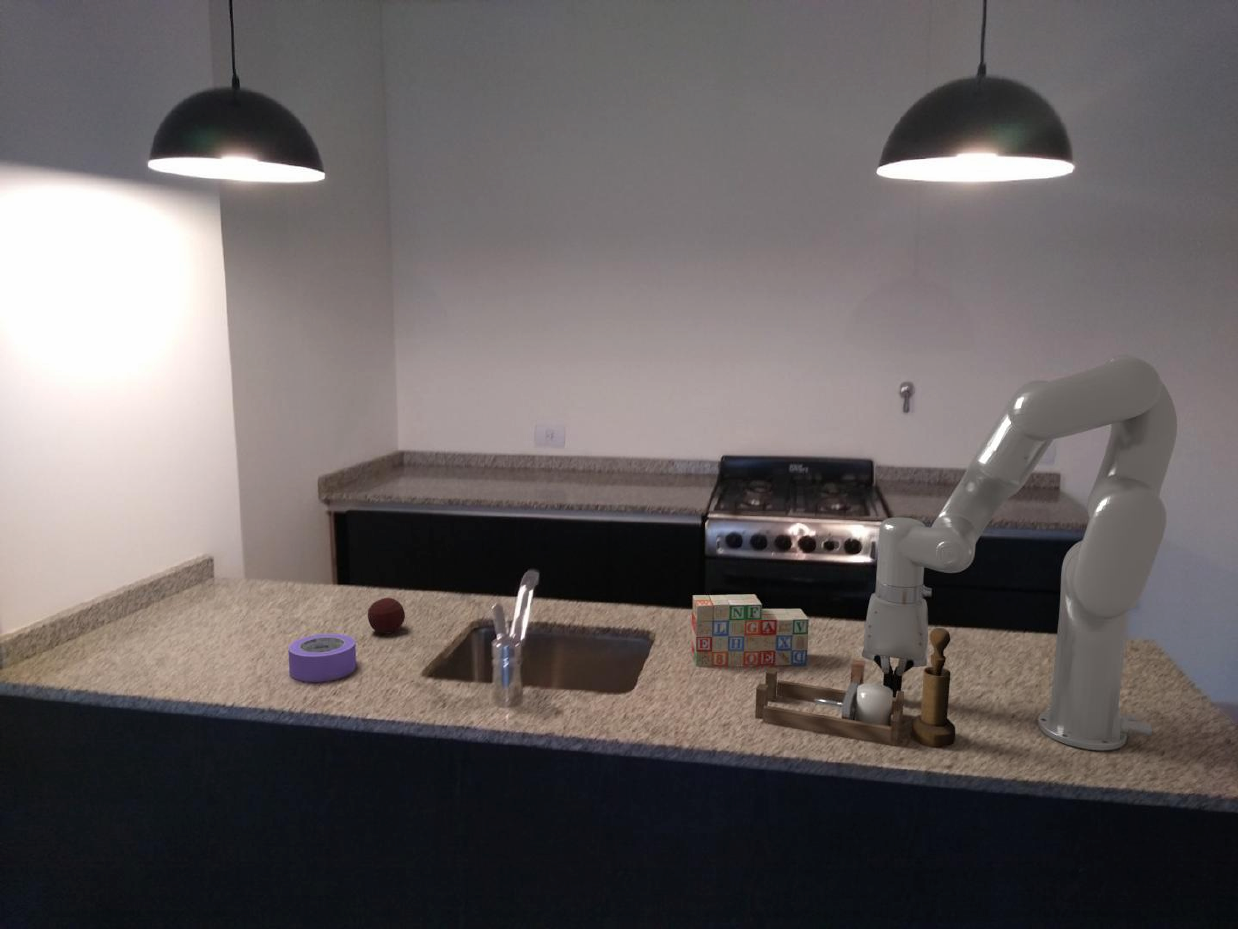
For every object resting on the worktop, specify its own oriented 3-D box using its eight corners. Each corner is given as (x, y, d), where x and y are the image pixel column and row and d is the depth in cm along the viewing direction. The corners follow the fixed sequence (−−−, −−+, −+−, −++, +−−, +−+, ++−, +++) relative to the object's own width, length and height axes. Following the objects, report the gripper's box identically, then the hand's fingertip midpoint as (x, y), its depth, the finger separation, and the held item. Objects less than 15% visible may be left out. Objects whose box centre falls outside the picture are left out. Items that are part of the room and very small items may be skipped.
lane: (902, 714, 150) (904, 685, 149) (896, 746, 139) (898, 715, 138) (769, 692, 158) (770, 665, 157) (753, 720, 147) (754, 691, 146)
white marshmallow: (892, 721, 147) (894, 686, 146) (888, 735, 142) (891, 700, 141) (857, 715, 149) (859, 681, 148) (853, 729, 144) (855, 694, 143)
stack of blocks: (799, 653, 176) (802, 593, 174) (807, 666, 170) (810, 604, 168) (690, 654, 175) (692, 594, 173) (694, 667, 169) (696, 604, 167)
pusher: (863, 693, 157) (864, 661, 156) (851, 732, 142) (853, 697, 141) (824, 687, 160) (826, 655, 159) (809, 725, 145) (810, 690, 144)
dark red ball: (361, 635, 183) (360, 602, 182) (381, 623, 190) (380, 591, 189) (393, 640, 181) (392, 606, 180) (412, 627, 188) (411, 595, 187)
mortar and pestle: (902, 737, 142) (910, 628, 138) (922, 724, 146) (930, 618, 143) (943, 752, 137) (951, 639, 134) (962, 738, 141) (970, 629, 138)
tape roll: (333, 653, 174) (332, 628, 173) (369, 668, 167) (368, 643, 166) (277, 671, 165) (275, 645, 164) (312, 688, 158) (310, 661, 157)
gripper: (946, 590, 152) (938, 692, 155) (856, 580, 157) (850, 678, 161) (944, 603, 145) (936, 710, 148) (850, 592, 150) (844, 695, 154)
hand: (891, 693), depth 154 cm, fingers closed
